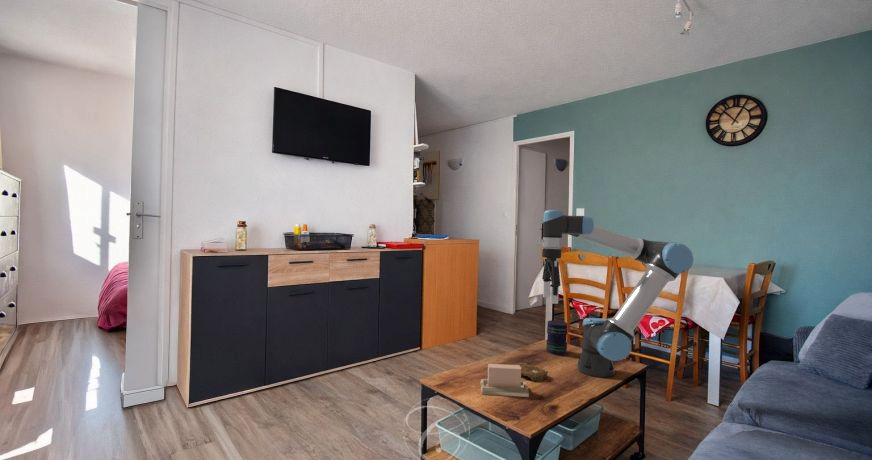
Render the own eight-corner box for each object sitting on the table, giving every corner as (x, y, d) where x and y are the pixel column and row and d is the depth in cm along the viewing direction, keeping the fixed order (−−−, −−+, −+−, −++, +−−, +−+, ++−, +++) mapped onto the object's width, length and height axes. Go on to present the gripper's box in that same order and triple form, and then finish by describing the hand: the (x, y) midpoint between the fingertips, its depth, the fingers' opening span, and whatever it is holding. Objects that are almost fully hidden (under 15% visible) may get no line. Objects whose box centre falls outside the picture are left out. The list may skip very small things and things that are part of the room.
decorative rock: (505, 375, 165) (538, 386, 155) (506, 365, 165) (538, 376, 155) (519, 366, 173) (551, 377, 163) (519, 357, 173) (551, 368, 163)
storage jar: (550, 355, 191) (551, 325, 191) (543, 349, 200) (544, 320, 200) (570, 355, 191) (571, 325, 191) (562, 349, 201) (563, 320, 201)
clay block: (518, 386, 150) (519, 365, 149) (520, 390, 146) (521, 369, 145) (487, 384, 150) (488, 363, 150) (488, 388, 146) (488, 367, 146)
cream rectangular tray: (480, 383, 153) (480, 377, 153) (524, 385, 152) (524, 380, 152) (482, 394, 143) (482, 388, 143) (528, 396, 142) (529, 391, 142)
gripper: (536, 246, 171) (534, 294, 171) (549, 249, 146) (547, 306, 146) (553, 246, 171) (552, 295, 171) (570, 250, 146) (568, 306, 146)
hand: (550, 300), depth 158 cm, fingers open, 13 cm apart
